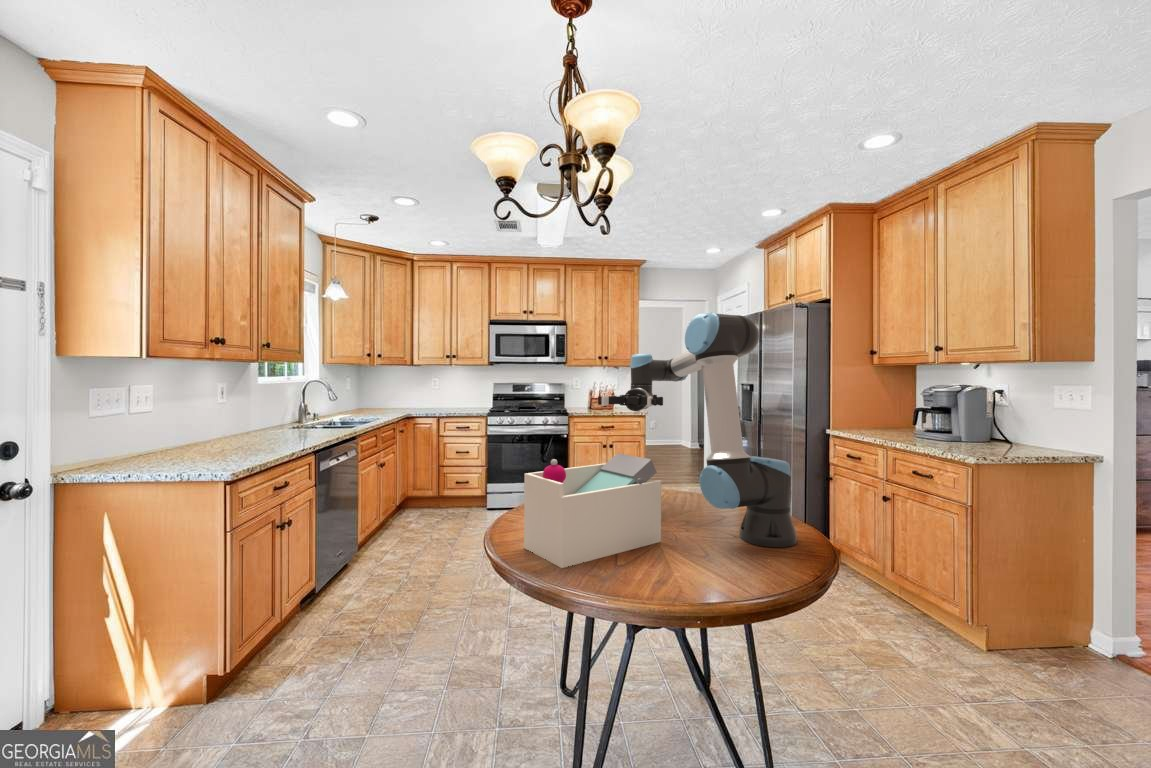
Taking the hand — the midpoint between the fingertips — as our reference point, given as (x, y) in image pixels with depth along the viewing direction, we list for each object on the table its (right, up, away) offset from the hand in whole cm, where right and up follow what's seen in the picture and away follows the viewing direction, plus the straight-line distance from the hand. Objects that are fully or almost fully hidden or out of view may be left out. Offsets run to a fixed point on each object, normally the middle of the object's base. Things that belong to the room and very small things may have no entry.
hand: (625, 401), depth 149 cm
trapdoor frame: (-10, -39, -11) cm, 41 cm away
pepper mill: (-20, -34, -17) cm, 43 cm away
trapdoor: (-4, -25, -6) cm, 26 cm away
